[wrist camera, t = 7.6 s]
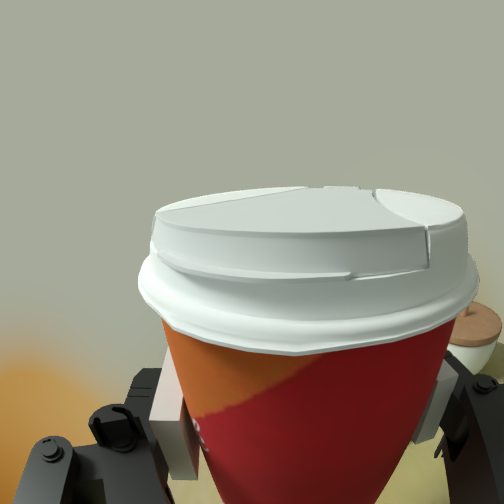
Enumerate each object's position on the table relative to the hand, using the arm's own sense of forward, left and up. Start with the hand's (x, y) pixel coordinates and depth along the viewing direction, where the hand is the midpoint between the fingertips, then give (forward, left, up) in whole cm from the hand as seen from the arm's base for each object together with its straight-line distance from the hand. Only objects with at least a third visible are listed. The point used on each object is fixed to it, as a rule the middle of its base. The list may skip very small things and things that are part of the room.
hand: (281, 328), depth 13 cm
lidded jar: (-27, -5, -18) cm, 33 cm away
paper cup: (+2, +5, -8) cm, 10 cm away
